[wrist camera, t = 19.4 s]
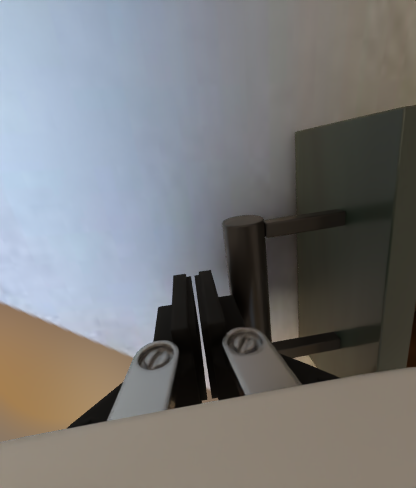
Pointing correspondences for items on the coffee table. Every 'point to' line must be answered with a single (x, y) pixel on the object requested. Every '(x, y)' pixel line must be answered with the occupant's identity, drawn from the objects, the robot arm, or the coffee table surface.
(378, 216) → the drawer
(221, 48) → the coffee table surface
